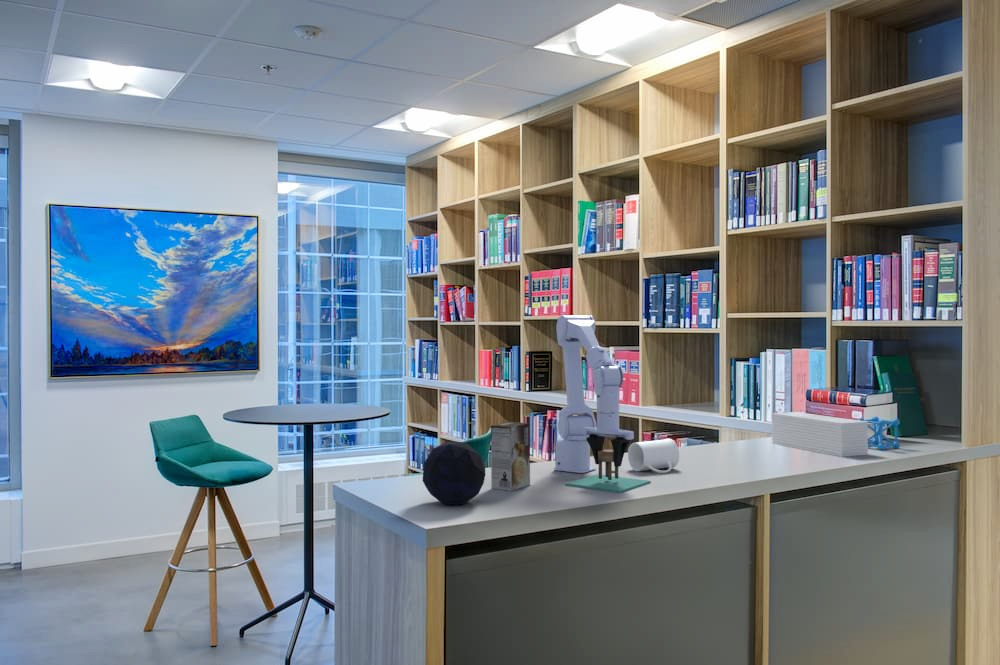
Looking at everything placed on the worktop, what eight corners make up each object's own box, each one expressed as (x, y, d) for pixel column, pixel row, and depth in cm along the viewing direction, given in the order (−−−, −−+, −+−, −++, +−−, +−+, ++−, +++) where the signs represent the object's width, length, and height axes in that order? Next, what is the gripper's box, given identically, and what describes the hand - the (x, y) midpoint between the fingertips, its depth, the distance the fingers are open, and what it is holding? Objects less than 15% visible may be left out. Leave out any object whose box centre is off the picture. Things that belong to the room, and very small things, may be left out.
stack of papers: (772, 443, 277) (772, 413, 277) (796, 442, 280) (796, 411, 280) (841, 457, 247) (841, 423, 247) (867, 455, 251) (867, 421, 250)
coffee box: (509, 482, 206) (509, 421, 206) (530, 485, 203) (530, 422, 203) (490, 488, 198) (490, 425, 198) (512, 491, 195) (512, 426, 195)
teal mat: (565, 485, 202) (565, 483, 202) (597, 476, 215) (597, 474, 215) (620, 492, 193) (620, 490, 193) (650, 482, 205) (650, 480, 205)
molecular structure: (882, 451, 258) (882, 420, 258) (855, 447, 267) (855, 417, 267) (901, 448, 263) (901, 418, 263) (874, 444, 272) (874, 415, 272)
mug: (689, 460, 220) (654, 465, 215) (678, 482, 225) (644, 487, 219) (667, 432, 228) (633, 435, 223) (657, 453, 233) (623, 457, 228)
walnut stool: (593, 478, 204) (593, 451, 204) (606, 475, 208) (606, 449, 208) (610, 480, 200) (610, 453, 200) (623, 478, 204) (623, 451, 204)
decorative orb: (401, 478, 184) (425, 430, 177) (449, 470, 194) (474, 425, 188) (432, 524, 176) (459, 475, 169) (481, 512, 186) (508, 467, 180)
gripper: (640, 413, 202) (640, 466, 202) (594, 409, 212) (594, 460, 212) (624, 415, 197) (625, 469, 197) (578, 411, 207) (578, 463, 207)
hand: (608, 465), depth 204 cm, fingers closed on walnut stool, 5 cm apart
